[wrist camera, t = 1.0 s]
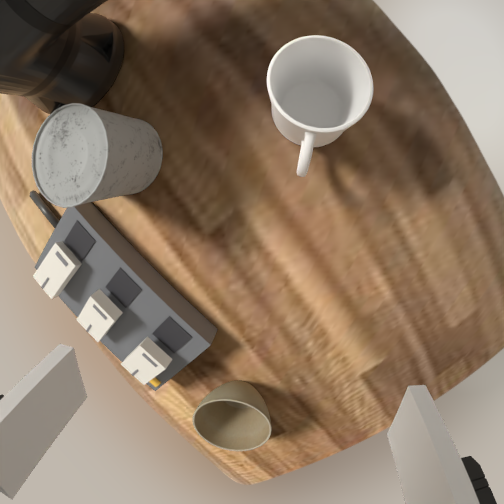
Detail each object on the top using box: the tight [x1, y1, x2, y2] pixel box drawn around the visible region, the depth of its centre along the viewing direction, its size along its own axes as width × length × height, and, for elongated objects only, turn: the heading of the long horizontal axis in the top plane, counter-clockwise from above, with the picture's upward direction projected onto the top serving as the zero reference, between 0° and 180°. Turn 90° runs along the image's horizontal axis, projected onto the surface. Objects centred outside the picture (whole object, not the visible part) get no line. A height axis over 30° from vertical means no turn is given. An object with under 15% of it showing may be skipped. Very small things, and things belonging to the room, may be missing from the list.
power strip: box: [30, 190, 218, 391], centre depth 38 cm, size 33×12×4 cm, turn 45°
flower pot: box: [193, 381, 271, 451], centre depth 39 cm, size 10×10×7 cm
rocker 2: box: [77, 289, 123, 342], centre depth 35 cm, size 4×6×2 cm, turn 135°
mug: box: [267, 35, 373, 177], centre depth 27 cm, size 12×9×12 cm
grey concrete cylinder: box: [32, 103, 163, 208], centre depth 30 cm, size 10×10×12 cm
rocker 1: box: [33, 241, 82, 299], centre depth 34 cm, size 4×6×2 cm, turn 135°
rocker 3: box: [121, 336, 172, 385], centre depth 36 cm, size 4×6×2 cm, turn 135°
